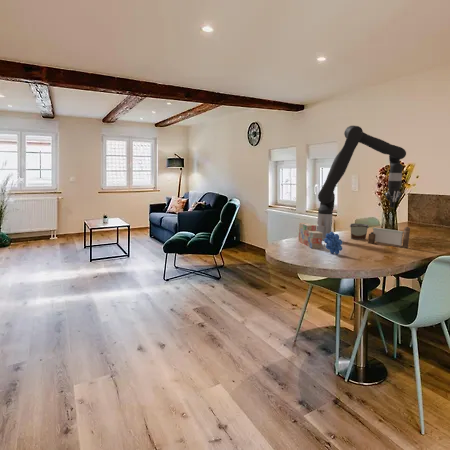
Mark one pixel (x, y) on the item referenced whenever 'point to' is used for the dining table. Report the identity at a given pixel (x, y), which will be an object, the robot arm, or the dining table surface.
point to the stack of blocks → (310, 235)
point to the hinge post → (406, 237)
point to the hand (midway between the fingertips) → (392, 207)
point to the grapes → (333, 242)
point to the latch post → (371, 238)
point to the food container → (358, 231)
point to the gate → (388, 236)
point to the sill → (388, 244)
